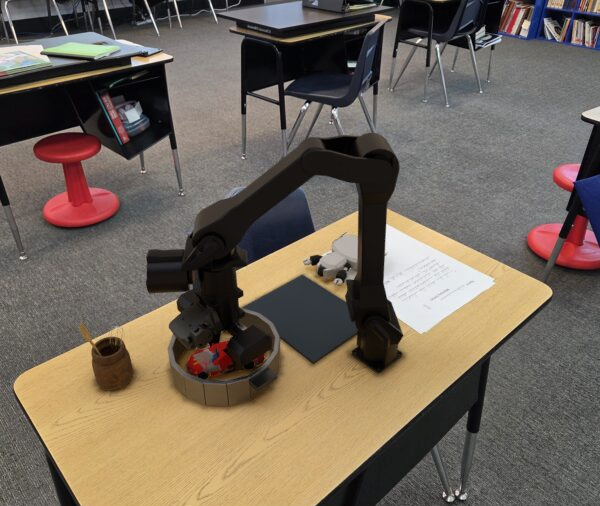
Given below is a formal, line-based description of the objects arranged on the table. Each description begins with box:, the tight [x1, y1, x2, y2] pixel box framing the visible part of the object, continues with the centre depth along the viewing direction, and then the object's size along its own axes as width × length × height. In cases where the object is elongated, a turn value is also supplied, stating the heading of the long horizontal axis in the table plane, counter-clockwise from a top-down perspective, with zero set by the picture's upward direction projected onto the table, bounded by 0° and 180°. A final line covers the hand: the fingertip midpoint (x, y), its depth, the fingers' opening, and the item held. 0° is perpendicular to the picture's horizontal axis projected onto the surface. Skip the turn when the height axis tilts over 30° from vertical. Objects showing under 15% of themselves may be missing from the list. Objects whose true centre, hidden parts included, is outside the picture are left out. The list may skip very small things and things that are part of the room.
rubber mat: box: [241, 274, 357, 364], centre depth 103 cm, size 20×16×1 cm
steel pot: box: [167, 307, 281, 408], centre depth 91 cm, size 22×18×5 cm
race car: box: [186, 339, 266, 380], centre depth 91 cm, size 13×5×4 cm, turn 105°
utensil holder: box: [78, 321, 134, 391], centre depth 87 cm, size 6×6×12 cm
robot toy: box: [302, 229, 389, 286], centre depth 116 cm, size 12×4×15 cm
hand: (226, 360), depth 92 cm, fingers closed on race car, 6 cm apart
